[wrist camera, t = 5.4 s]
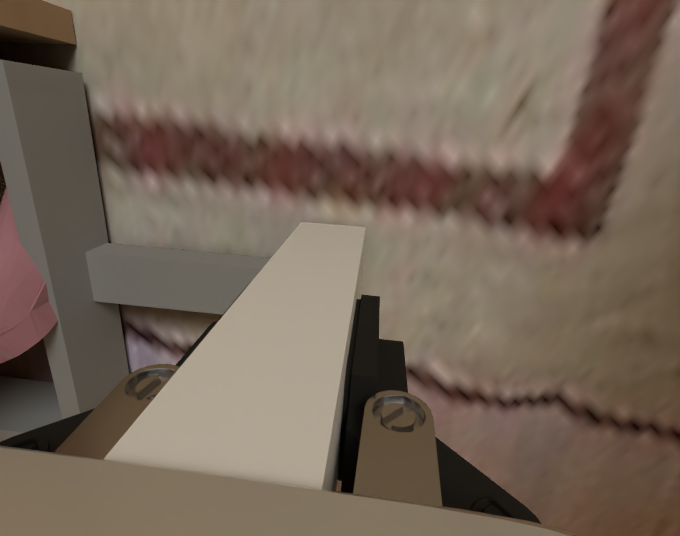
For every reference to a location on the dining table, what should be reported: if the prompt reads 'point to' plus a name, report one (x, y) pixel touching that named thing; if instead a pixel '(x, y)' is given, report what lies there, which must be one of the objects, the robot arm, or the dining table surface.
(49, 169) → the grey drawer with handle
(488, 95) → the dining table surface
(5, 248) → the video game controller
